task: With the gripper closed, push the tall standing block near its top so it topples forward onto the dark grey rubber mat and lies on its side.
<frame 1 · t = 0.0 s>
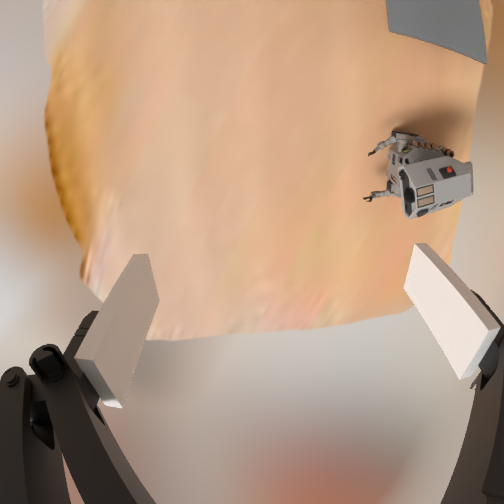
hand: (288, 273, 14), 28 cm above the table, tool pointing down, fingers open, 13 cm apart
figurine: (388, 160, 38), on the table
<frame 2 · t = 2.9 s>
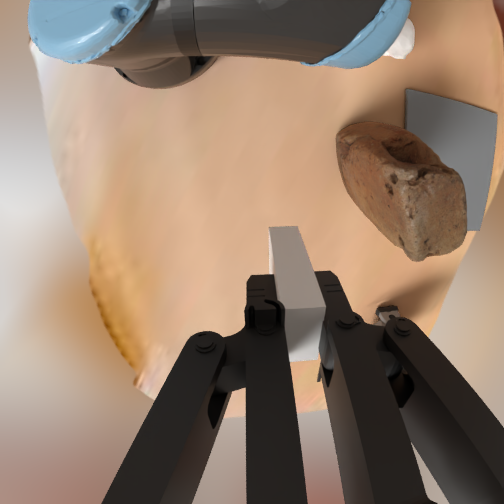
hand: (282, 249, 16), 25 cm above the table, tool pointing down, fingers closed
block: (359, 158, 37), on the table
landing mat: (451, 167, 37), on the table
figurine: (370, 324, 52), on the table
white lumpy piece: (351, 34, 29), on the table
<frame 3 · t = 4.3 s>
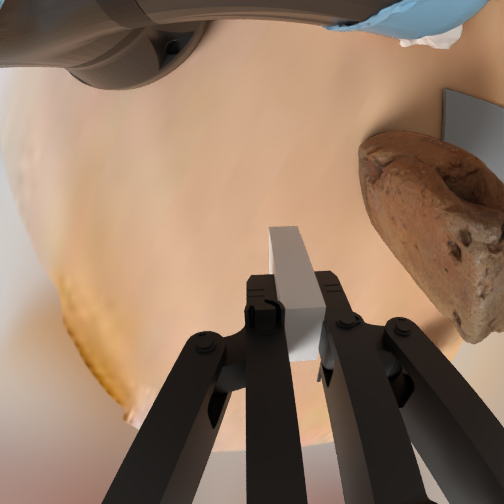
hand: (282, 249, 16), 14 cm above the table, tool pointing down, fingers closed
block: (385, 177, 28), on the table
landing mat: (489, 186, 28), on the table
white lumpy piece: (376, 15, 20), on the table
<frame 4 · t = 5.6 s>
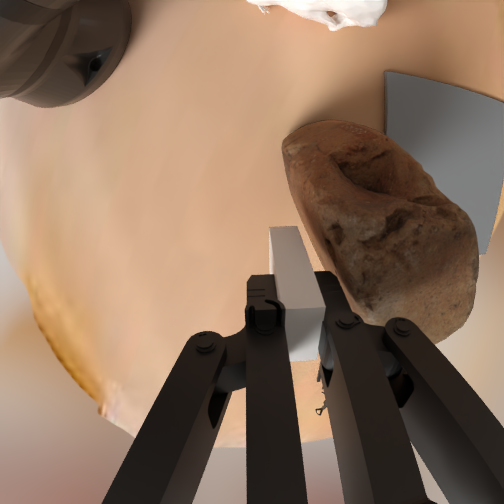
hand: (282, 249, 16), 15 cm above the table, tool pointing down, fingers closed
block: (319, 171, 28), on the table, touching gripper
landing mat: (451, 176, 28), on the table
white lumpy piece: (301, 2, 20), on the table
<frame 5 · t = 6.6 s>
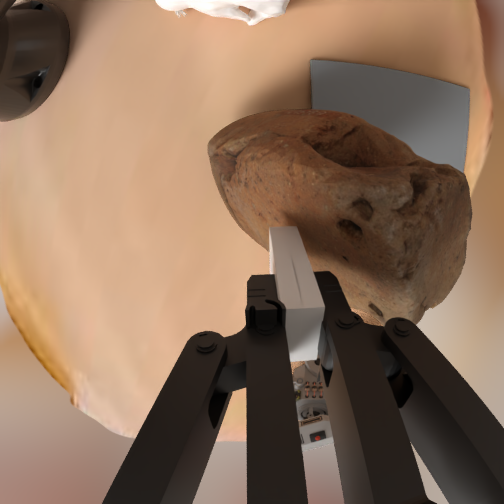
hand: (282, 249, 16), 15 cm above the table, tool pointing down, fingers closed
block: (245, 172, 27), point 2 cm above the table, touching gripper
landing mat: (397, 167, 29), on the table
figurine: (299, 363, 44), on the table
white lumpy piece: (222, 0, 20), on the table
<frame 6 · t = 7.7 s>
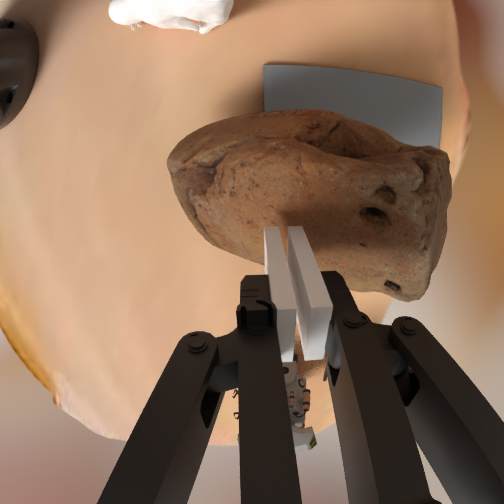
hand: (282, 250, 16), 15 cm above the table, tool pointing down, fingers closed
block: (204, 185, 26), point 3 cm above the table, touching gripper
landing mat: (359, 173, 29), on the table
figurine: (267, 371, 44), on the table
white lumpy piece: (176, 10, 20), on the table
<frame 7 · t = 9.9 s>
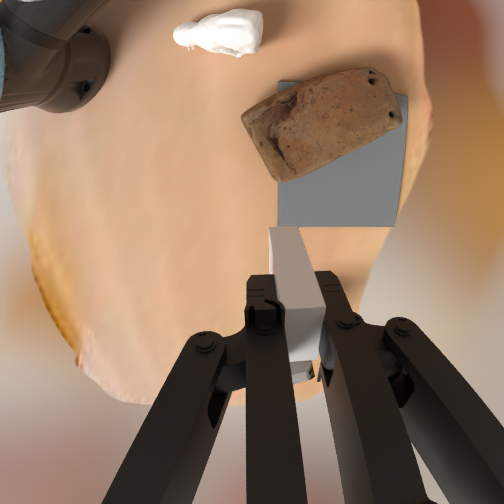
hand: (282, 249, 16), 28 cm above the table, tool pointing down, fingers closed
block: (255, 150, 36), point 4 cm above the table, touching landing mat
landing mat: (344, 157, 41), on the table
figurine: (274, 321, 56), on the table
white lumpy piece: (219, 38, 32), on the table
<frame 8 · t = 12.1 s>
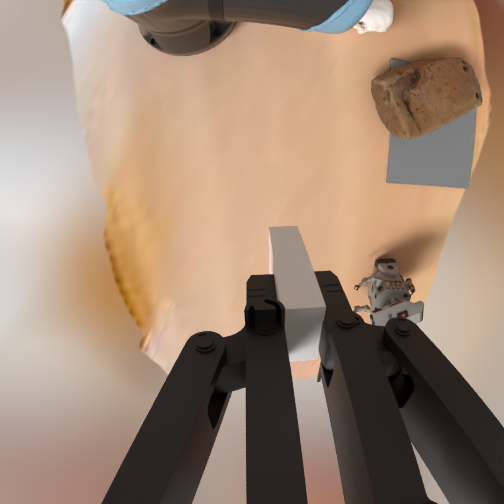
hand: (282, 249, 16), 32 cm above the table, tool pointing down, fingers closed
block: (384, 111, 37), point 4 cm above the table, touching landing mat
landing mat: (436, 127, 41), on the table
figurine: (370, 277, 56), on the table
white lumpy piece: (342, 14, 33), on the table
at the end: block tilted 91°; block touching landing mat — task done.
